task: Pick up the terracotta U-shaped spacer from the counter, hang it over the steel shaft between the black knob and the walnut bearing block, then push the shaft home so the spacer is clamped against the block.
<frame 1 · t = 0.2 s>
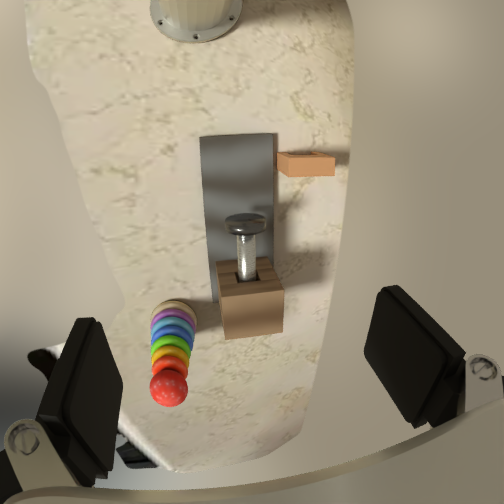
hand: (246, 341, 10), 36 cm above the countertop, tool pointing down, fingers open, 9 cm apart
spacer: (297, 160, 44), on the countertop
shaft: (247, 273, 43), point 6 cm above the countertop, slide at 7.0 cm
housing: (241, 275, 50), on the countertop
stacking toy: (173, 317, 52), on the countertop
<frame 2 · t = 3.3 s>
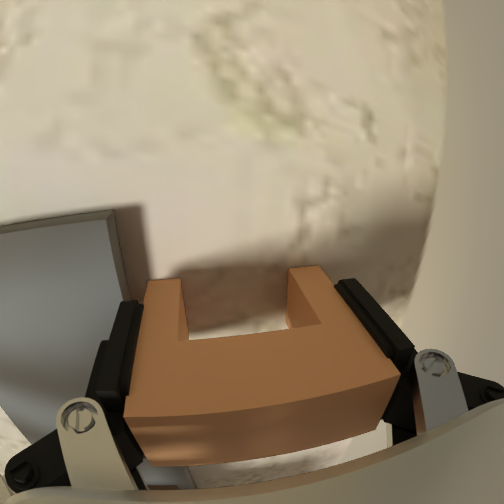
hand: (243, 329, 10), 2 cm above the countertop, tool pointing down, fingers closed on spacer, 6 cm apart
spacer: (236, 302, 12), on the countertop, touching gripper
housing: (137, 489, 18), on the countertop
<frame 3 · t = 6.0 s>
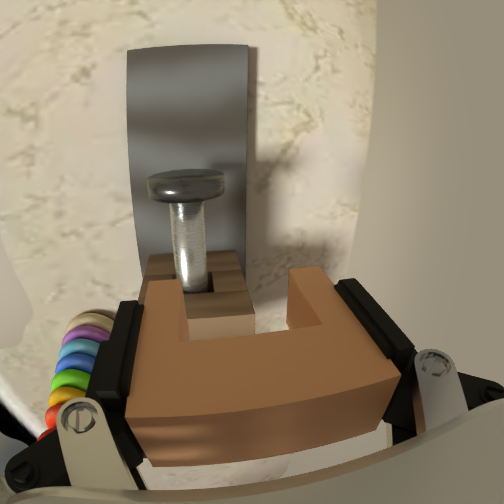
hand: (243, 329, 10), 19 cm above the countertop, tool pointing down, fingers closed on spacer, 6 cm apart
spacer: (237, 302, 12), point 17 cm above the countertop, touching gripper
shaft: (192, 278, 23), point 6 cm above the countertop, slide at 7.0 cm
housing: (194, 279, 31), on the countertop
stacking toy: (99, 336, 32), on the countertop
when the fingers open (7 cm above the countertop, at t = 8.9 s): spacer drops 1 cm, resting on shaft.
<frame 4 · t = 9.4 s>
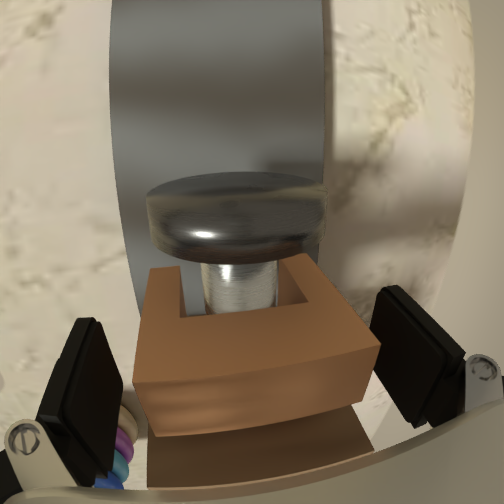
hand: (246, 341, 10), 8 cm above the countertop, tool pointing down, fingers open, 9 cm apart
spacer: (231, 287, 13), point 4 cm above the countertop, touching shaft
shaft: (243, 379, 12), point 6 cm above the countertop, slide at 7.0 cm, touching spacer
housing: (229, 346, 20), on the countertop
stacking toy: (94, 412, 21), on the countertop
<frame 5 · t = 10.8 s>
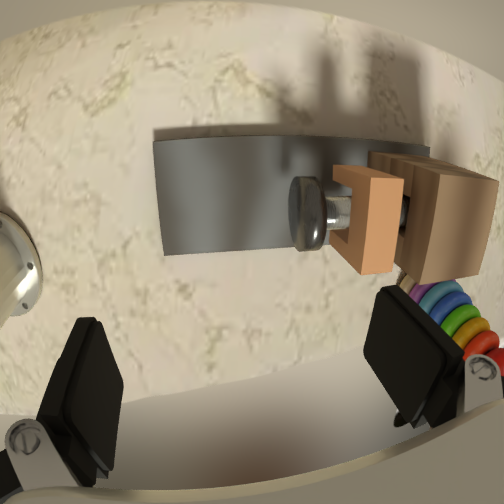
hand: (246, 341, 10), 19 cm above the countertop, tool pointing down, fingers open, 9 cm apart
spacer: (345, 204, 24), point 4 cm above the countertop, touching shaft
shaft: (392, 211, 22), point 6 cm above the countertop, slide at 7.0 cm, touching spacer
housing: (389, 190, 29), on the countertop
stacking toy: (418, 285, 35), on the countertop
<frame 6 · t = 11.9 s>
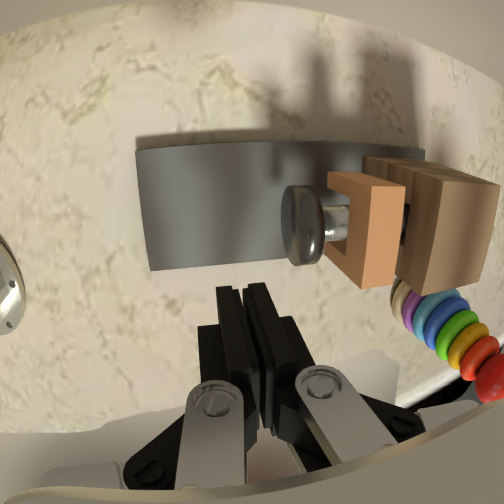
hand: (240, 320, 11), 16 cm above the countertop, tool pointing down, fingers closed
spacer: (340, 213, 23), point 4 cm above the countertop, touching shaft
shaft: (390, 219, 21), point 6 cm above the countertop, slide at 7.0 cm, touching spacer
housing: (384, 196, 28), on the countertop
stacking toy: (413, 291, 34), on the countertop
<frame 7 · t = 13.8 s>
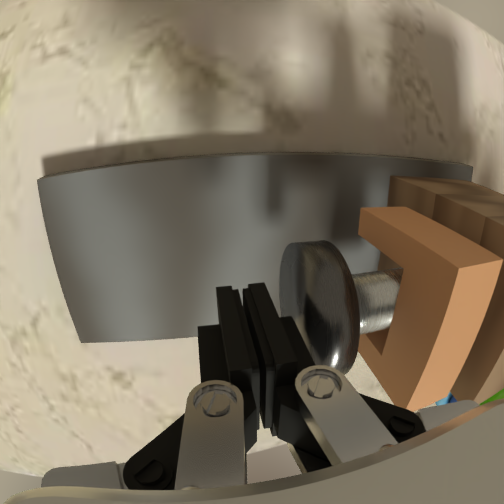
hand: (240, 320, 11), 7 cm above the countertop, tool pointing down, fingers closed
spacer: (375, 272, 14), point 4 cm above the countertop, touching shaft
shaft: (450, 285, 12), point 7 cm above the countertop, slide at 5.9 cm, touching gripper, spacer
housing: (415, 232, 19), on the countertop
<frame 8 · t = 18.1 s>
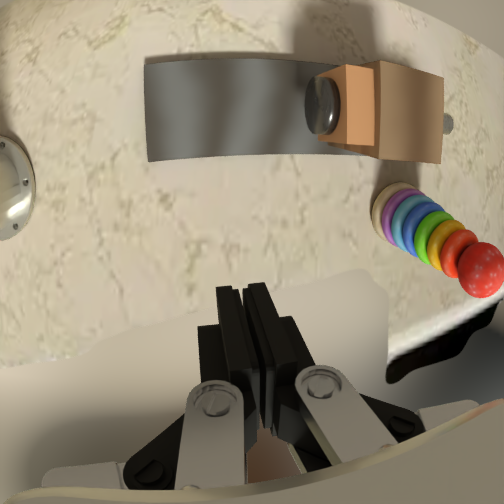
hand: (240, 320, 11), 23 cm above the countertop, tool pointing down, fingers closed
spacer: (329, 108, 26), point 4 cm above the countertop, touching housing, shaft
shaft: (390, 113, 25), point 6 cm above the countertop, slide at 2.5 cm, touching spacer
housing: (353, 111, 31), on the countertop
stacking toy: (393, 210, 37), on the countertop
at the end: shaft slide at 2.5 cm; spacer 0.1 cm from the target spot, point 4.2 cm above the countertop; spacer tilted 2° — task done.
